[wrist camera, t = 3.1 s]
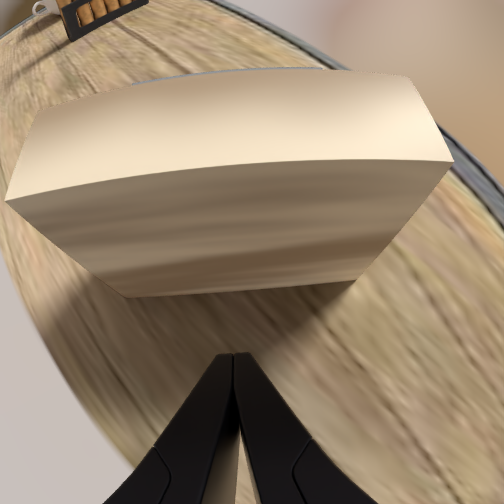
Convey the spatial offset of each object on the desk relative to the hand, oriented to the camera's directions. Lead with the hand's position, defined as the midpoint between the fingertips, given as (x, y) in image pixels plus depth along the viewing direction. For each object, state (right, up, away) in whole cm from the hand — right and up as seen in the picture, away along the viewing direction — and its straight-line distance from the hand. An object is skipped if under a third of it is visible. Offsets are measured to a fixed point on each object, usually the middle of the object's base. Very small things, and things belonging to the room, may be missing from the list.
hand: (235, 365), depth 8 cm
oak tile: (0, +3, +9) cm, 9 cm away
